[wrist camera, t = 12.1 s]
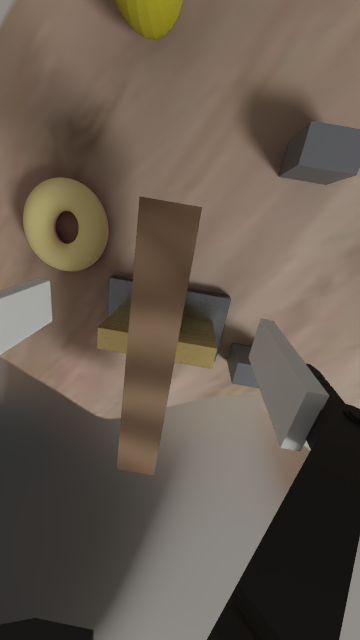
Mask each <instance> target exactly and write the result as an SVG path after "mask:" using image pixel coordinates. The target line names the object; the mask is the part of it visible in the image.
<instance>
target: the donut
mask: <svg viewBox="0 0 360 640" xmlns="http://www.w3.org/2000/svg"><path fill="white" fill-rule="evenodd" d="M64 211H70V212H72V213H73V214H74V215H75V216H76V218H77V221H78V225H79V231H78V235H77V237H76V239H75V240H74V241H73V242H72V243H70V244H66V243H64V242H62V241H61V240H60V239H59V237H58V235H57V233H56V221H57V218H58V216H59V215H60V214H61V213H62V212H64ZM23 226H24V231H25V235H26V238H27V240H28V242H29V244H30V246H31V248H32V249H33V251H34V252H35V253H36V254H37V256H38V257H39V258H40V259H42V260H43V261H44V262H45V263H47V264H48V265H50V266H52V267H54V268H56V269H59V270H63V271H79V270H83V269H85V268H88V267H89V266H91V265H93V264H94V263H95V262H96V261H97V260H98V259H99V258H100V257H101V255H102V254H103V252H104V250H105V248H106V245H107V241H108V235H109V225H108V219H107V215H106V212H105V209H104V207H103V205H102V203H101V202H100V200H99V199H98V197H97V196H96V195H95V194H94V193H93V192H92V191H91V190H90V189H89V188H88V187H87V186H85V185H84V184H82V183H80V182H78V181H76V180H73V179H69V178H63V177H58V178H51V179H48V180H45V181H43V182H42V183H40V184H39V185H37V186H36V187H35V188H34V189H33V190H32V192H31V193H30V195H29V196H28V198H27V200H26V203H25V206H24V211H23Z"/></svg>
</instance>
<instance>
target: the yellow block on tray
mask: <svg viewBox="0 0 360 640" xmlns="http://www.w3.org/2000/svg"><path fill="white" fill-rule="evenodd" d="M132 283H133V279H131V278H126V277H120V276H114V275H113V276H112V277H110V278H109V299H108V318H107V319H106V320H105V321H104V322H103V323H102V324H101V325H100V326H99V327H98V337H97V349H103V350H108V351H114V352H120V353H125V354H127V342H128V331H129V319H130V307H131V295H132ZM230 301H231V298H230V296H228V295H222V294H217V293H211V292H205V291H200V290H194V289H188V288H187V294H186V299H185V305H184V310H183V316H182V322H181V327H180V333H179V338H178V344H177V349H176V355H175V361H174V362H176V363H181V364H187V365H193V366H198V367H204V368H209V369H212V367H213V363H214V362H215V359H216V355H217V352H218V348H219V344H220V340H221V336H222V332H223V328H224V324H225V320H226V317H227V313H228V309H229V305H230Z"/></svg>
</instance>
